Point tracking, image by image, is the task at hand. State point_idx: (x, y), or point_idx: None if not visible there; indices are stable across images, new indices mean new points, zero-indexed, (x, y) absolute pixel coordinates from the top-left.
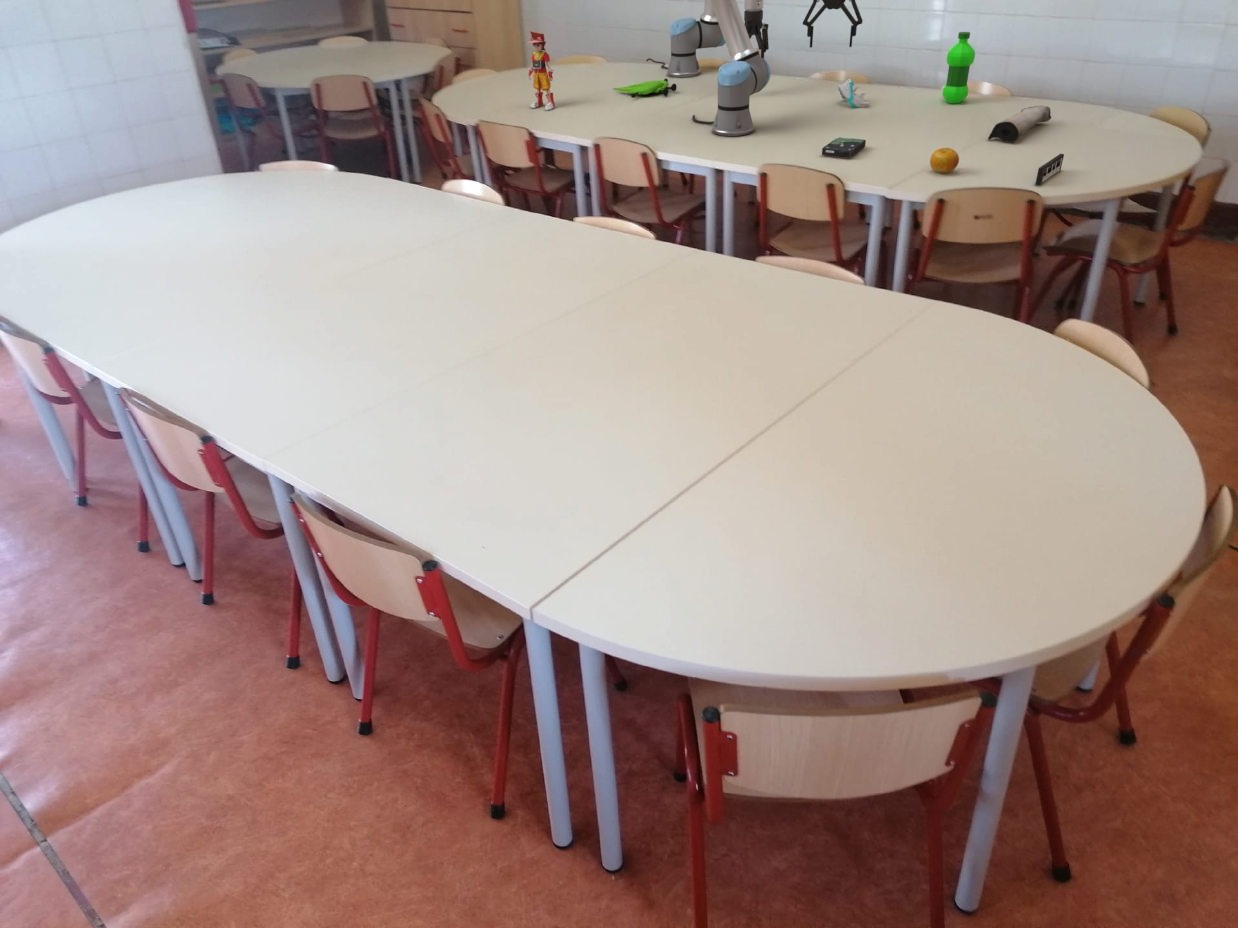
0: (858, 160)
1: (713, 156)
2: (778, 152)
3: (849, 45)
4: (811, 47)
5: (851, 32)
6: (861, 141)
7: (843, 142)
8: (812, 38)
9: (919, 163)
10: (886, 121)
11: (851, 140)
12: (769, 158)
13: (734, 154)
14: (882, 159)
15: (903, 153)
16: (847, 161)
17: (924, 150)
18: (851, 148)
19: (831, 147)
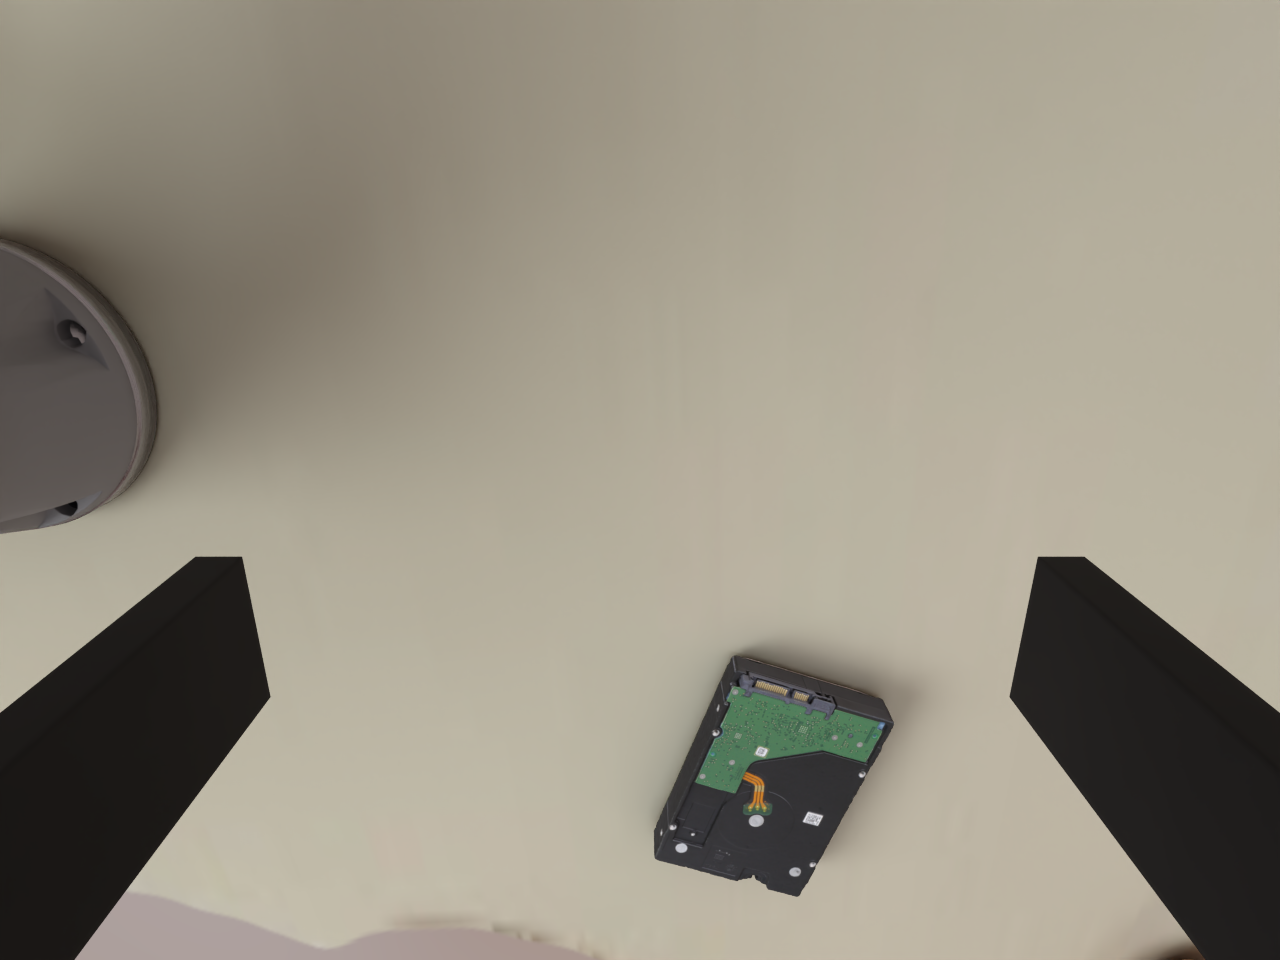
0: (831, 863)
1: None
2: (425, 773)
3: (1028, 716)
4: (261, 696)
5: (1228, 945)
6: (867, 745)
7: (766, 770)
8: (160, 768)
9: (1106, 887)
10: (1123, 29)
11: (812, 733)
12: (401, 858)
13: (207, 812)
14: (946, 845)
15: None
16: None
17: None
18: (805, 858)
19: (701, 833)
